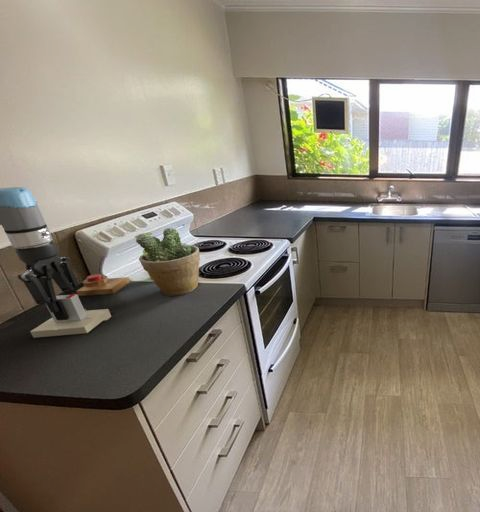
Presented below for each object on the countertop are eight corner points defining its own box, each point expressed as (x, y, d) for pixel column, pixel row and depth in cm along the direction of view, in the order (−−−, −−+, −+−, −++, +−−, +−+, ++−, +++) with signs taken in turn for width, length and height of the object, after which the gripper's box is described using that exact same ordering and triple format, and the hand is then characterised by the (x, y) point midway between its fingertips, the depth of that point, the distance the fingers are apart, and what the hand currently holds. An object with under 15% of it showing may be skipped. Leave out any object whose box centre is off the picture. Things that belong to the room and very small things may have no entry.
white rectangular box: (54, 322, 88) (42, 299, 85) (62, 318, 90) (50, 295, 87) (81, 320, 89) (70, 297, 86) (87, 316, 91) (76, 293, 88)
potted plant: (170, 279, 121) (152, 222, 112) (216, 277, 123) (202, 221, 114) (140, 302, 105) (116, 237, 95) (194, 299, 106) (175, 235, 97)
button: (85, 282, 111) (83, 278, 110) (93, 278, 115) (91, 274, 114) (97, 281, 111) (95, 277, 111) (104, 277, 115) (103, 273, 114)
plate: (32, 341, 84) (27, 332, 83) (65, 319, 95) (61, 311, 93) (86, 336, 86) (82, 327, 85) (112, 315, 97) (109, 307, 96)
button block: (76, 296, 108) (72, 287, 107) (96, 284, 118) (92, 275, 116) (113, 293, 110) (109, 284, 109) (130, 281, 119) (127, 273, 118)
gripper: (20, 254, 73) (59, 330, 82) (74, 234, 88) (103, 300, 97) (-15, 256, 72) (28, 333, 81) (46, 235, 87) (77, 302, 96)
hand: (69, 315), depth 89 cm, fingers open, 4 cm apart
